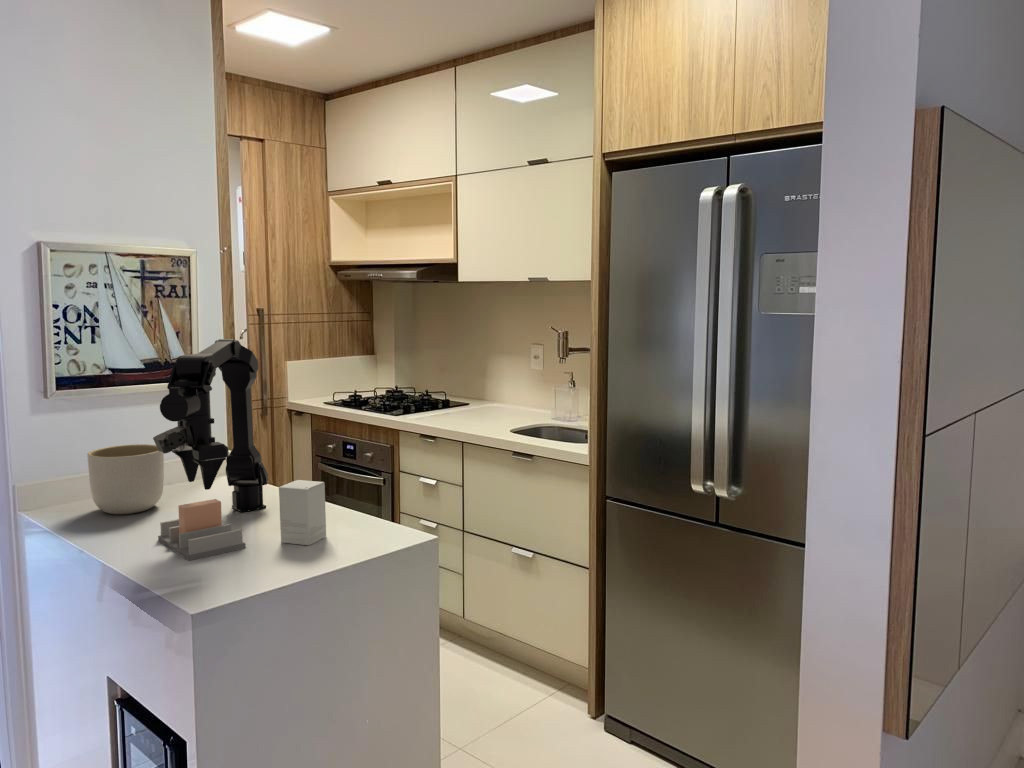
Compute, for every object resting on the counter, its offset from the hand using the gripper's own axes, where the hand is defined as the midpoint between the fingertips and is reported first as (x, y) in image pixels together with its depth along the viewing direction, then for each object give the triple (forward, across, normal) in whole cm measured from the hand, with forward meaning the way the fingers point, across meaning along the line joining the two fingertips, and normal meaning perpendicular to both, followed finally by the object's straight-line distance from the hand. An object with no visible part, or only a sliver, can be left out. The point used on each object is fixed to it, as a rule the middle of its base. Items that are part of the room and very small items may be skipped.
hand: (199, 485), depth 164 cm
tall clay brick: (+12, 0, 0) cm, 12 cm away
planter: (+13, -40, -3) cm, 42 cm away
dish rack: (+13, 0, 0) cm, 13 cm away
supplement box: (+13, +12, +18) cm, 25 cm away
